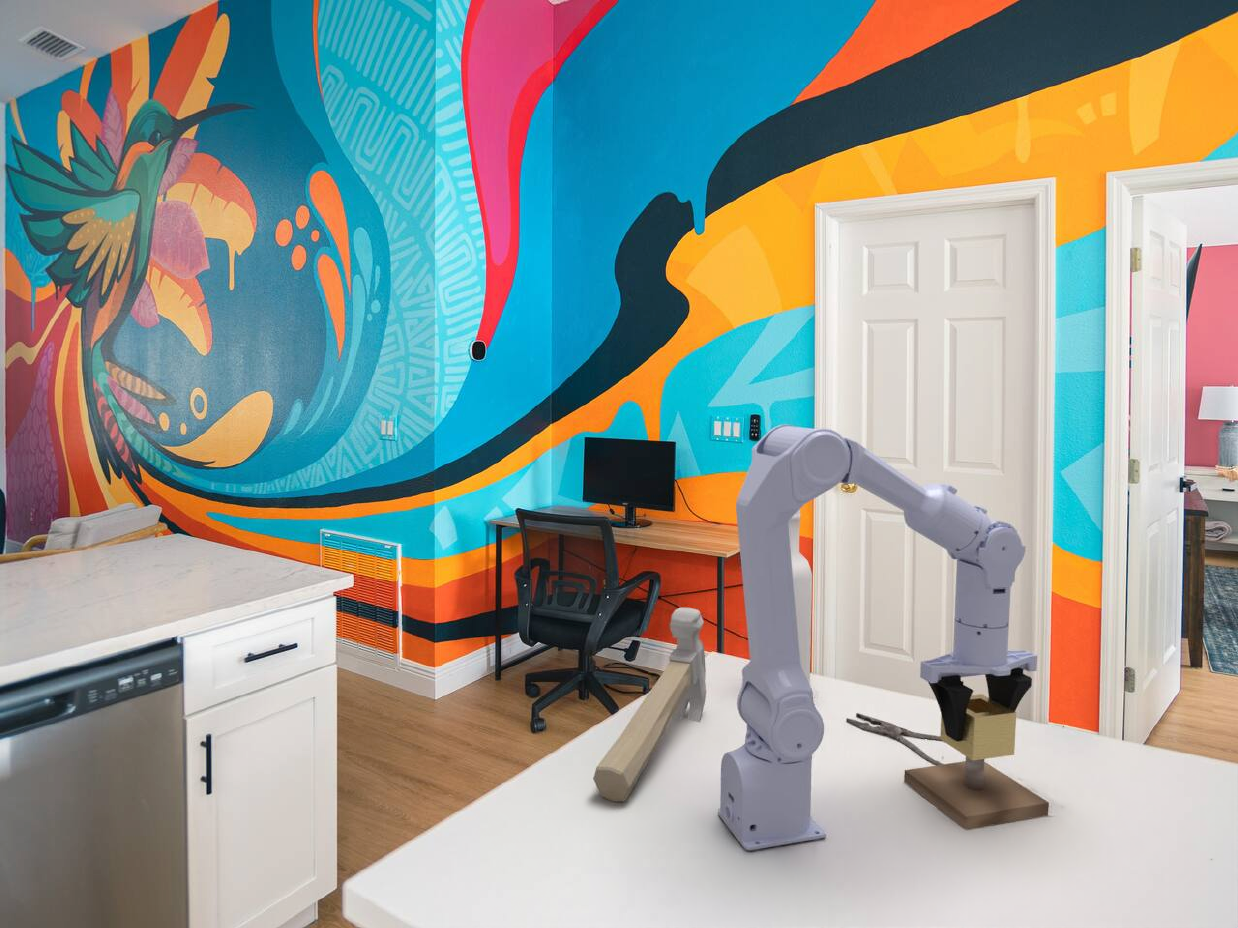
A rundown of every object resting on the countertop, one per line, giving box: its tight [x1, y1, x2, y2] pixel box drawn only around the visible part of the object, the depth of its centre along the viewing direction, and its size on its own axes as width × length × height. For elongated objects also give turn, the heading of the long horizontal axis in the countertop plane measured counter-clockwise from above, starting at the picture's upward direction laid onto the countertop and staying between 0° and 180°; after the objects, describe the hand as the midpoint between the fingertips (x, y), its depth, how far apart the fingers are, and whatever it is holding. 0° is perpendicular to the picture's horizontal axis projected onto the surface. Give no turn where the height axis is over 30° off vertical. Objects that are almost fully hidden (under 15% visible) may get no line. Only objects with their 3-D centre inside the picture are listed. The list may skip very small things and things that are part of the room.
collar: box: [939, 693, 1017, 760], centre depth 93 cm, size 6×6×5 cm
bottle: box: [788, 508, 813, 685], centre depth 123 cm, size 8×8×30 cm
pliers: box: [845, 712, 945, 766], centre depth 108 cm, size 10×1×20 cm
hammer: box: [592, 607, 707, 803], centre depth 105 cm, size 16×5×30 cm
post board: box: [903, 756, 1050, 831], centre depth 94 cm, size 11×11×6 cm
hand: (976, 734), depth 93 cm, fingers closed on collar, 6 cm apart
